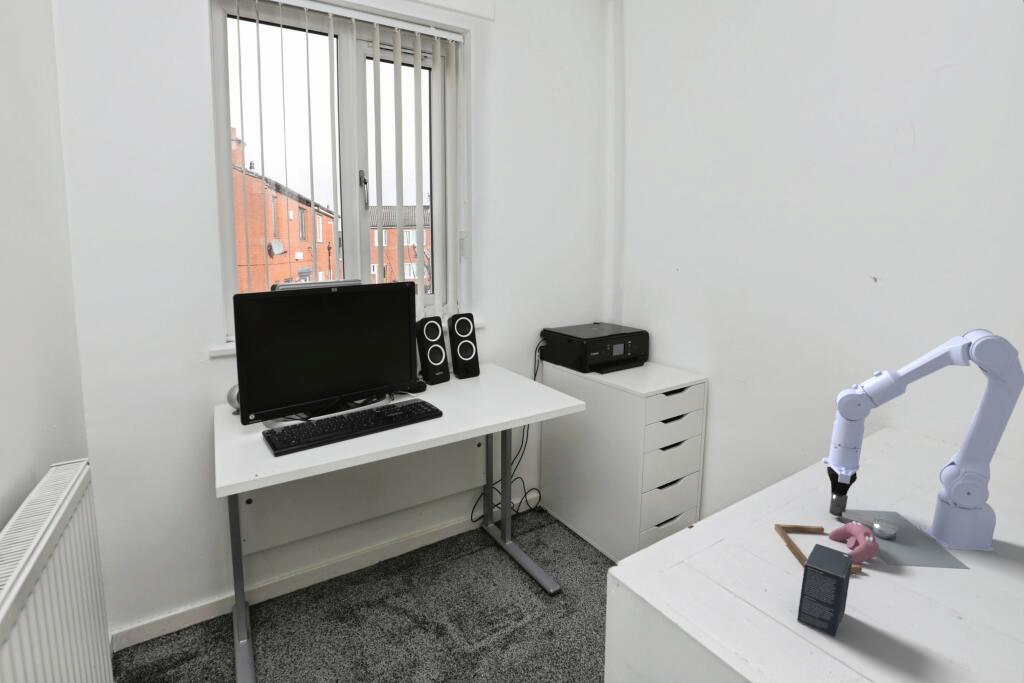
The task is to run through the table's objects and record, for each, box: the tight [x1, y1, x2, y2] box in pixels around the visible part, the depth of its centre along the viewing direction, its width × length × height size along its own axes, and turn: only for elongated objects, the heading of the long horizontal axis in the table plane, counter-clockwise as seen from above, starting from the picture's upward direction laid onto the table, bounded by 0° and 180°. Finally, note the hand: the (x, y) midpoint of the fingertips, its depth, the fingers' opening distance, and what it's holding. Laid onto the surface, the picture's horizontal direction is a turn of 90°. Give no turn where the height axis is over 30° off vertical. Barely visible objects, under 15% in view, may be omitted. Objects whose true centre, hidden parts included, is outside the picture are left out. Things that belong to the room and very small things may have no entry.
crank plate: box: [828, 507, 971, 570], centre depth 116 cm, size 15×22×1 cm
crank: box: [828, 492, 898, 540], centre depth 118 cm, size 13×4×5 cm, turn 43°
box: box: [796, 543, 853, 637], centre depth 90 cm, size 8×6×11 cm
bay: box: [774, 523, 863, 576], centre depth 110 cm, size 10×15×2 cm
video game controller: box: [828, 521, 879, 565], centre depth 109 cm, size 10×5×7 cm, turn 169°
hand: (837, 501), depth 124 cm, fingers closed
